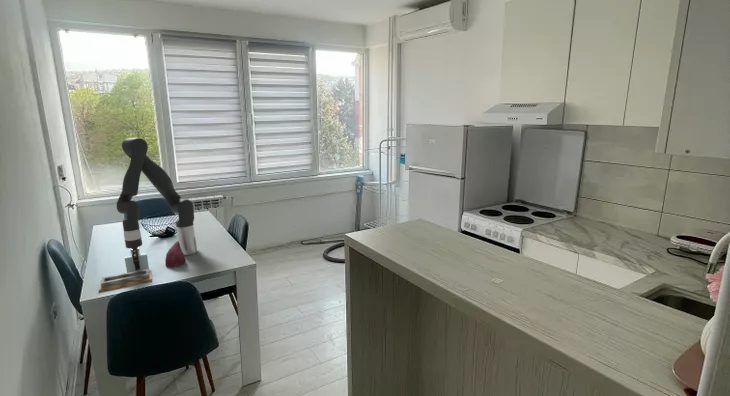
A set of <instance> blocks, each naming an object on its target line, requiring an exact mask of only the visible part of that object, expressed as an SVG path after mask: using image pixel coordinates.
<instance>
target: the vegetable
mask: <svg viewBox="0 0 730 396" xmlns="http://www.w3.org/2000/svg"><path fill="white" fill-rule="evenodd" d="M165 255H166V256H165V262H164V263H165V267H167V268H171V269H172V268H180V267H181V266H184V265H185V264H186V262H187V261H186V257H185V255H184V254H183V252H182V250H181V247H180V243H179V242H178V240H177V241H176V242H174V244H172V246H171V247H170V248H169V249H168V251H166V254H165Z"/></svg>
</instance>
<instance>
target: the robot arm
mask: <svg viewBox="0 0 730 396" xmlns="http://www.w3.org/2000/svg"><path fill="white" fill-rule="evenodd" d="M148 148H149V147H148V143H147V141H146V140H145V139H144V138H141V137H130V138H129V137H128V138H125V139H123V141H122V142H121V149H122V150H123V152H124V154H126V155H127V157H128V158H130V162H129V164H128V168H127V170H126V172H125V174H124V175H123V176H124V177H123V181H122V187H121V193H120V195H119V196H118V199H117V202H116V210H117V212H118V213H120V214H124V215H126V218H124V219H122V228H123V229H122V231H123V238H124V244H125V248H126V249H130V255H132V259H133V263H134V265H135V270H140V264H139V262H140V261H139V258H140V255H139V254H141V253H140V250H141V249H140V248H139V247H142V246H143V240H142V239H143V238H142V233H141V229H140V223H139V219H140V211H141V208H140V205H139V203H138V202H137V201H135V200H132V199H133V197H136V196H137V195H138V193H139V186H140V178H141V173H143V174H144V175H145V177H146V178H147V179H148V180H149V182H150V184H152V186H153V187H154V188H155V189H156V190H157V191H158V192H159V194H160V195H161V196H162V197H163V198H164V199H165V201H166V202H167V204H168V206H169V208H170V209H171V210H172V211H173V212H174V213H175V214H178V220H176V222H175V227H176V233H177V241H178V242H179V243H180V247H181V250H182V252H183V254H184V256H191V255H193V254H196V253H198V247H197V246H198V245H197V238H196V233H195V226H194V225H195V224H194V221H195V210H194V209H195V208H194V204H193V201H191V200H189V199H187V198H183V197H181V195H179V193H178V192H177V190H175V188H174V187H175V186H174V185H173V181H172V179H171V177H170V176H169V174H168V173H167V171H165V169H163V167H162V166H160V164H157V162H155V161H153V160H152V159H151V158H150V157H149V156H148V155H147V153H148V150H149V149H148ZM135 260H138V261H135Z"/></svg>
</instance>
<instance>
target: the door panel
mask: <svg viewBox="0 0 730 396" xmlns="http://www.w3.org/2000/svg"><path fill="white" fill-rule="evenodd" d="M139 255H140V258H139V261H140V262H139V264H140V270H145V269H149V270H150V266H149V260H148V253H147V252H143V253H140V254H139ZM135 261H138V260H135ZM124 263H125V268H126V273H129V272H135V271H140V270H135V265H134V263H133V259H132V255H131V254H130V255H125V256H124Z"/></svg>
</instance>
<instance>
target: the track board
mask: <svg viewBox="0 0 730 396" xmlns="http://www.w3.org/2000/svg"><path fill="white" fill-rule="evenodd" d="M149 282H153V276H152V270H150V268H149V269H145V270H140V271H135V272H129V273H127V272H125V273H121V274H115V275H110V276H105V277H101V280H100V282H99V285H98V286H99V287H98V292H99V291H102V292H106V290H107V291H111V289H112V290H116V289H120V288H126V287H129V286H135V285H140V284H145V283H149Z"/></svg>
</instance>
